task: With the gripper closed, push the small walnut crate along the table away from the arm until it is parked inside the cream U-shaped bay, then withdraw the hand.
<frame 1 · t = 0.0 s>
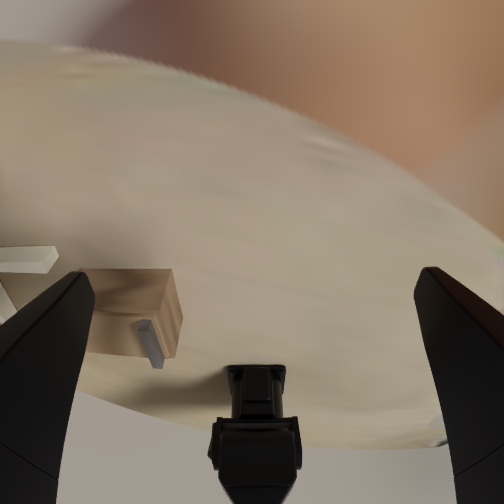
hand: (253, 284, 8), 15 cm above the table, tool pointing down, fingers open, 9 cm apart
bay: (35, 290, 28), on the table
crate: (132, 292, 28), on the table
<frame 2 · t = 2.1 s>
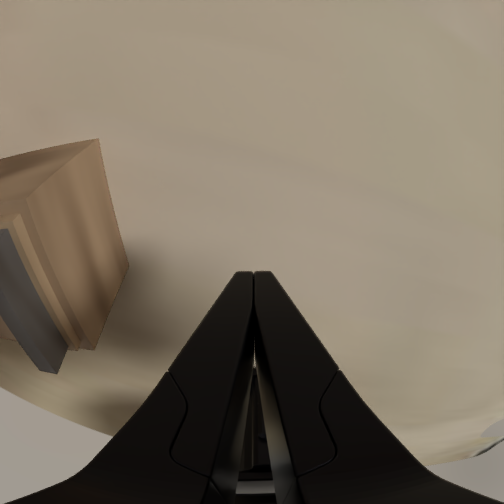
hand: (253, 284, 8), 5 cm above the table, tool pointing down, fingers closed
crate: (34, 212, 12), on the table
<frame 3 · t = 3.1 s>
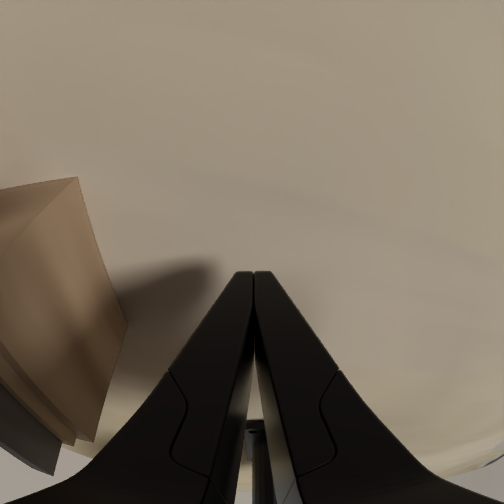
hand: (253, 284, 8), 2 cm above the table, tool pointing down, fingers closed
crate: (11, 260, 10), on the table
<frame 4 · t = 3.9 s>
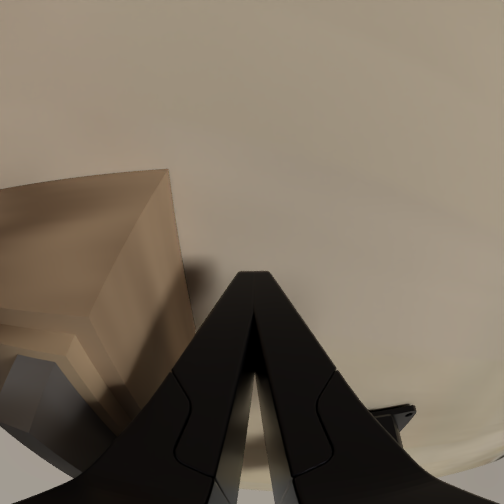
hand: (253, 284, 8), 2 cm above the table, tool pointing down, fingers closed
crate: (59, 263, 10), on the table, touching gripper
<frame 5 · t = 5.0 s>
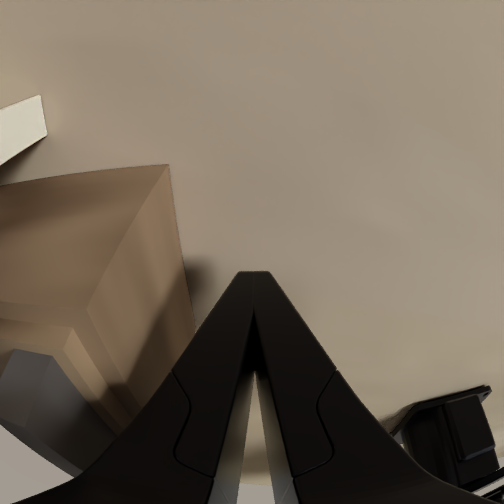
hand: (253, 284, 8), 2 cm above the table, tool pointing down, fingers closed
crate: (59, 260, 10), on the table, touching gripper
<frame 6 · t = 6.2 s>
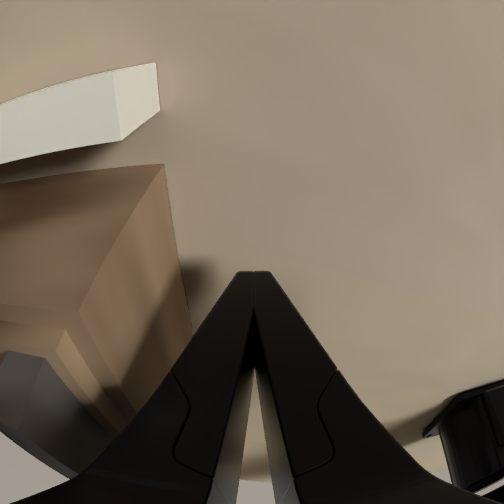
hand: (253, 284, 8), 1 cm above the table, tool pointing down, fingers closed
bay: (37, 264, 9), on the table
crate: (55, 260, 9), on the table, touching gripper
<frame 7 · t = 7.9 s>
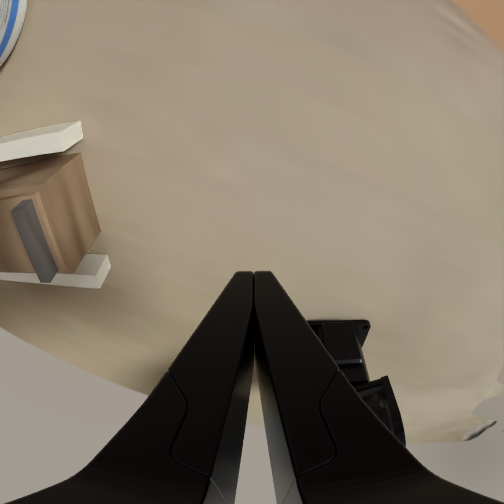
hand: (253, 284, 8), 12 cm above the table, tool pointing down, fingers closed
bay: (35, 203, 20), on the table
crate: (43, 198, 20), on the table
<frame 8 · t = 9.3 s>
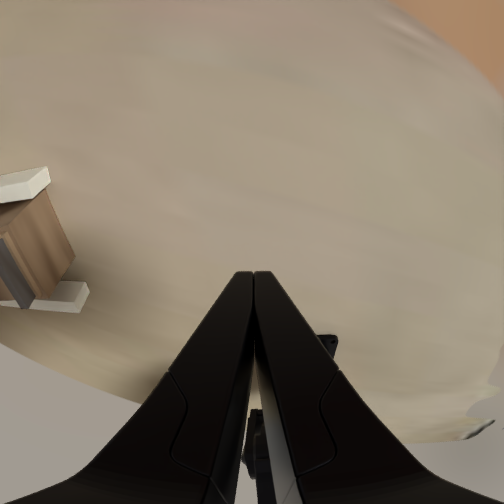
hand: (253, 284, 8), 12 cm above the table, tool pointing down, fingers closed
bay: (18, 238, 21), on the table
crate: (23, 231, 21), on the table
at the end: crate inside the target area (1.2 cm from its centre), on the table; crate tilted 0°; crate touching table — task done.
